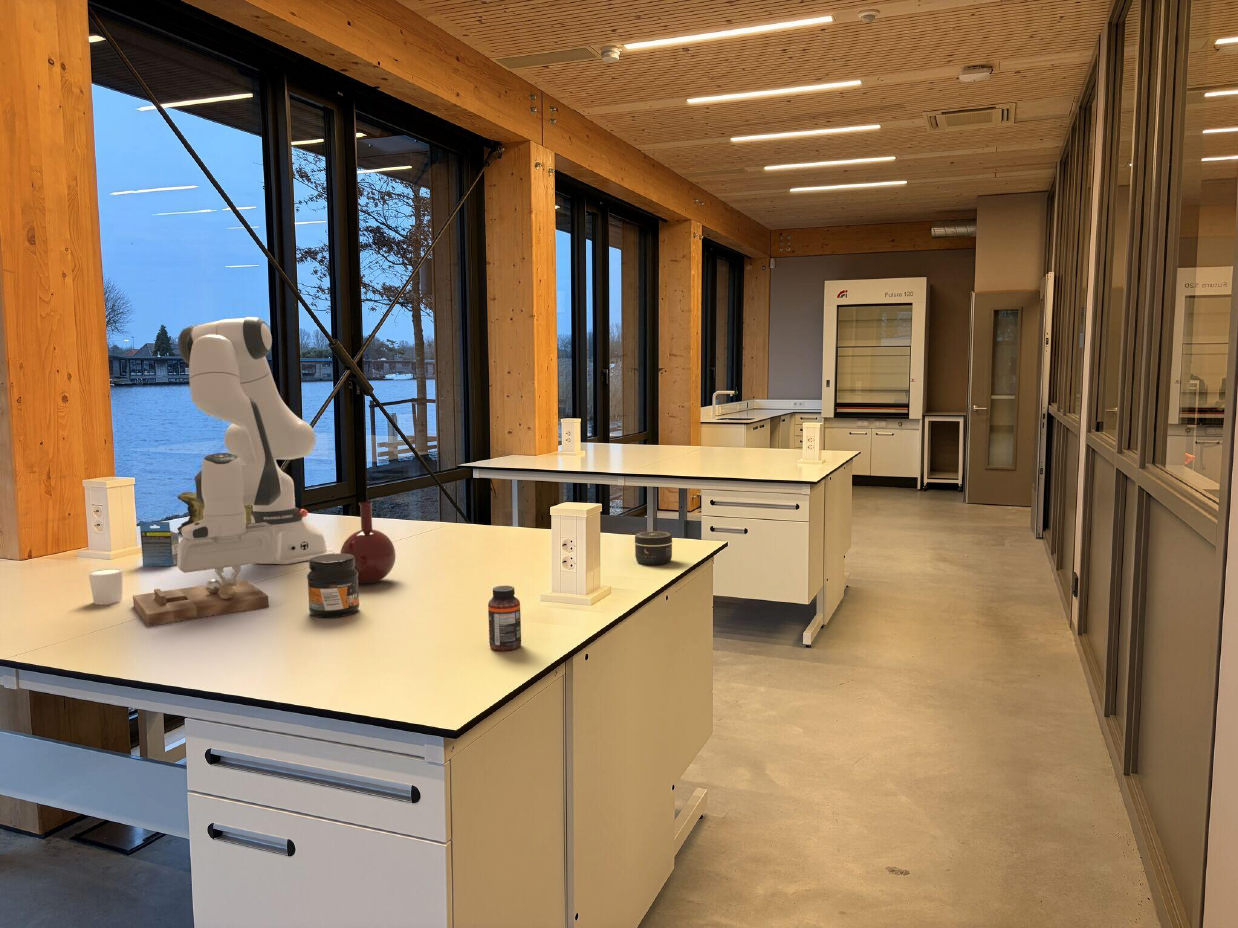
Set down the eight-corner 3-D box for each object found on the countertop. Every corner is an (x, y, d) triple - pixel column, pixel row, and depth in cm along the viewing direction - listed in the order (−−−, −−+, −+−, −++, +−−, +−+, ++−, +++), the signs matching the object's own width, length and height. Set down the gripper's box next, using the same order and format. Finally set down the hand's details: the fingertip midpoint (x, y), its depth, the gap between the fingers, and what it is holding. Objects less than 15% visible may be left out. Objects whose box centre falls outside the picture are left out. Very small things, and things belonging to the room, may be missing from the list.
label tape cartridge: (181, 563, 246) (178, 519, 245) (172, 566, 242) (169, 521, 241) (150, 563, 247) (147, 519, 246) (141, 566, 243) (138, 521, 242)
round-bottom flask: (407, 579, 224) (404, 499, 222) (372, 591, 212) (368, 507, 210) (366, 574, 229) (362, 497, 227) (329, 586, 217) (325, 504, 215)
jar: (629, 565, 236) (629, 536, 235) (642, 557, 245) (642, 530, 244) (665, 567, 232) (665, 538, 231) (677, 559, 241) (677, 532, 241)
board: (245, 589, 215) (244, 571, 215) (268, 606, 199) (267, 586, 199) (133, 606, 201) (132, 586, 201) (148, 626, 185) (146, 604, 184)
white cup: (132, 598, 208) (129, 569, 207) (106, 606, 202) (104, 575, 201) (109, 596, 210) (107, 567, 210) (83, 604, 204) (81, 573, 203)
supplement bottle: (490, 642, 170) (488, 584, 169) (521, 641, 171) (520, 583, 169) (488, 652, 164) (486, 592, 163) (521, 651, 165) (519, 591, 163)
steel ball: (208, 576, 202) (201, 589, 201) (211, 578, 199) (204, 591, 199) (221, 581, 204) (214, 594, 203) (225, 583, 201) (218, 596, 200)
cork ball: (233, 596, 198) (232, 582, 198) (236, 599, 196) (235, 585, 195) (217, 598, 196) (216, 584, 196) (221, 601, 194) (220, 587, 193)
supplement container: (331, 621, 186) (328, 564, 185) (298, 614, 192) (295, 559, 191) (370, 609, 195) (367, 555, 194) (337, 603, 201) (334, 551, 200)
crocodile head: (155, 522, 286) (173, 484, 295) (187, 549, 299) (204, 513, 308) (228, 515, 280) (244, 477, 289) (258, 544, 292) (272, 506, 301)
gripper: (269, 519, 210) (272, 576, 212) (173, 529, 198) (177, 590, 200) (276, 522, 205) (280, 581, 207) (179, 533, 193) (183, 595, 195)
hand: (228, 586), depth 203 cm, fingers closed
